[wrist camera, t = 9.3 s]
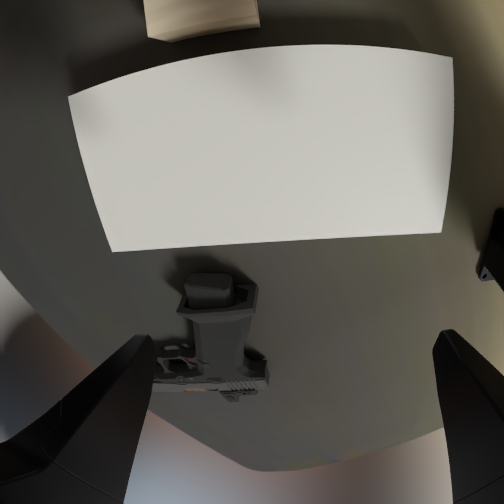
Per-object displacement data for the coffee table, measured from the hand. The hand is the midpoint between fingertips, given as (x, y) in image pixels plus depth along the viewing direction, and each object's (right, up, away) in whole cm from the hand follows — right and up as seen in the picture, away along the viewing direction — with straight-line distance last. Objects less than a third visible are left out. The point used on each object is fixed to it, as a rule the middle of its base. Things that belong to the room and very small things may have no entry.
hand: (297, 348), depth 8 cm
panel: (0, +9, +8) cm, 12 cm away
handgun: (-9, -6, +19) cm, 22 cm away
